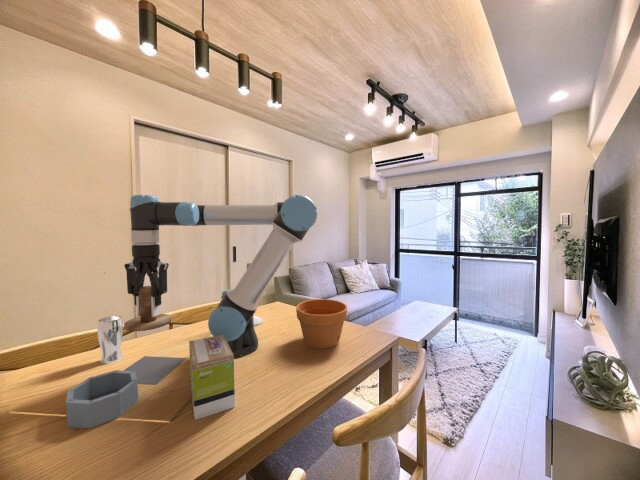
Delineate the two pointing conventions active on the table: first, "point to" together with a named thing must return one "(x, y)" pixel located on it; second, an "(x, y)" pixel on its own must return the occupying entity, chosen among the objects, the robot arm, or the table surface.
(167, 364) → the mat
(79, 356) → the table surface
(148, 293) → the lid
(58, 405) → the table surface
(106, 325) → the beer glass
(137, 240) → the robot arm
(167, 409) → the table surface
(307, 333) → the flower pot
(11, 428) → the table surface
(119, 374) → the bowl
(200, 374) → the tea box
